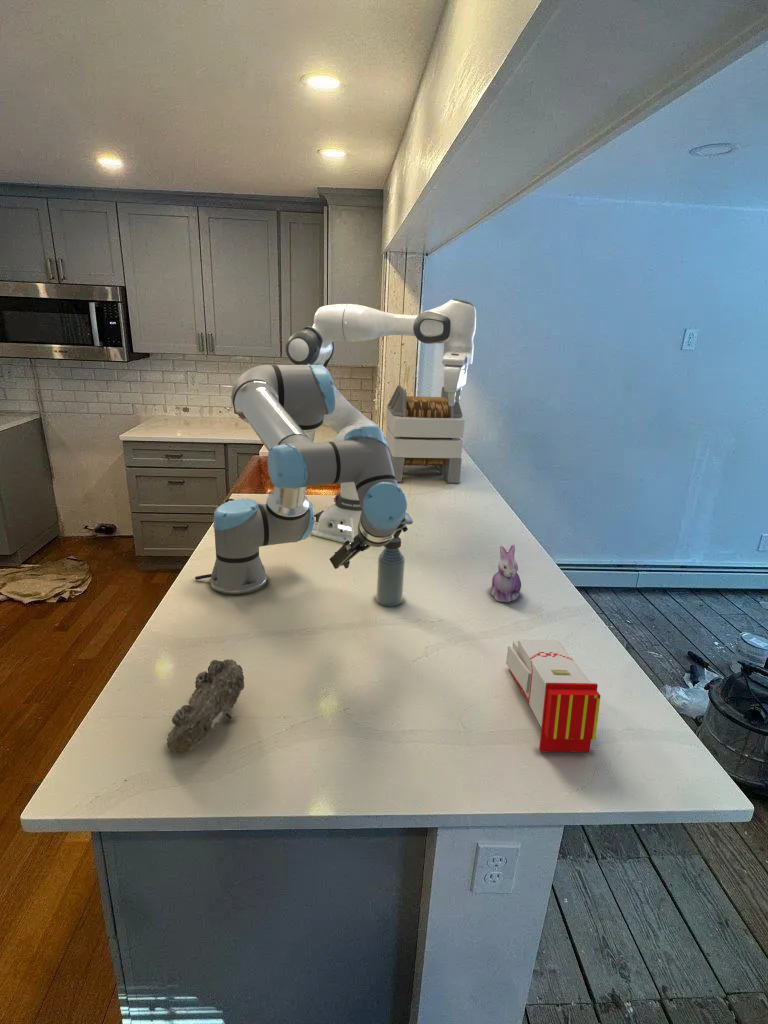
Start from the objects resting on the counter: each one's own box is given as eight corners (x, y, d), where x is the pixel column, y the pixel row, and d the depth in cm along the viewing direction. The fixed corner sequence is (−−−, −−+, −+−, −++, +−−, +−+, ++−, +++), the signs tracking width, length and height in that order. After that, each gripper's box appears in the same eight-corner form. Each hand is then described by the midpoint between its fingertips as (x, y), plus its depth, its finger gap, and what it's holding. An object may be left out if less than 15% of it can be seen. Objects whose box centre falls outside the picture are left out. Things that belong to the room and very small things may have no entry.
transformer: (382, 463, 289) (386, 382, 275) (445, 464, 293) (451, 384, 279) (390, 482, 257) (394, 392, 243) (460, 483, 261) (468, 394, 247)
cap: (400, 549, 147) (401, 542, 146) (383, 548, 147) (383, 541, 146) (400, 542, 151) (401, 536, 151) (383, 541, 151) (383, 535, 151)
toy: (554, 622, 128) (610, 691, 98) (548, 677, 130) (601, 759, 101) (501, 621, 127) (541, 690, 98) (496, 676, 130) (534, 758, 101)
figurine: (503, 606, 153) (510, 556, 148) (480, 590, 162) (486, 542, 156) (530, 600, 157) (537, 550, 152) (507, 584, 166) (513, 537, 161)
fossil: (192, 660, 117) (244, 628, 112) (224, 691, 120) (276, 661, 115) (142, 746, 98) (202, 712, 93) (182, 779, 101) (242, 748, 96)
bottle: (402, 606, 151) (405, 546, 145) (375, 605, 151) (378, 545, 145) (402, 594, 158) (405, 535, 152) (376, 592, 158) (379, 534, 152)
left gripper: (333, 573, 107) (331, 590, 127) (440, 509, 113) (422, 534, 133) (312, 540, 108) (314, 561, 129) (420, 478, 114) (405, 508, 135)
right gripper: (453, 354, 180) (449, 398, 185) (441, 358, 161) (437, 407, 166) (473, 355, 178) (468, 399, 183) (463, 360, 160) (459, 409, 164)
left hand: (369, 548), depth 131 cm, fingers open, 13 cm apart
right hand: (454, 403), depth 174 cm, fingers open, 8 cm apart
